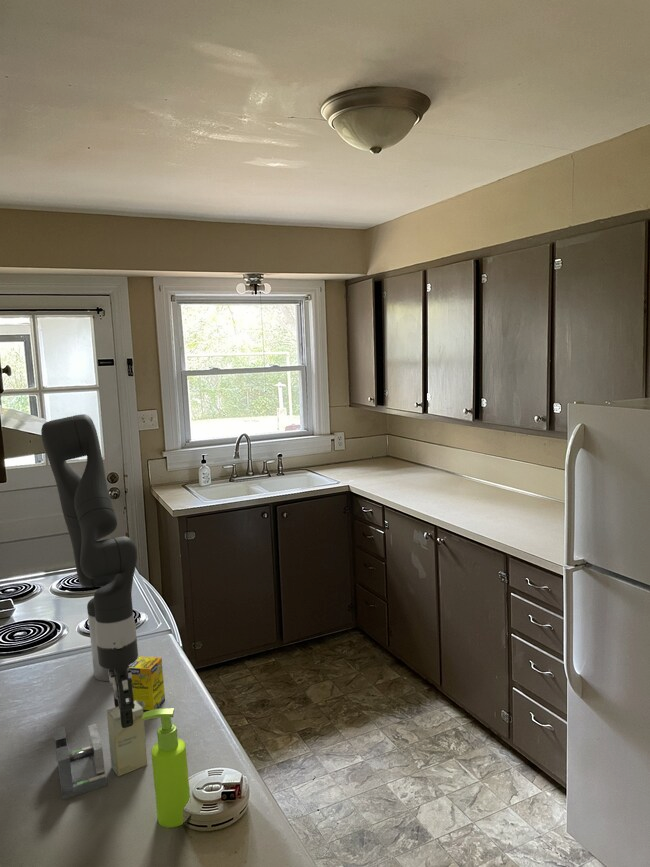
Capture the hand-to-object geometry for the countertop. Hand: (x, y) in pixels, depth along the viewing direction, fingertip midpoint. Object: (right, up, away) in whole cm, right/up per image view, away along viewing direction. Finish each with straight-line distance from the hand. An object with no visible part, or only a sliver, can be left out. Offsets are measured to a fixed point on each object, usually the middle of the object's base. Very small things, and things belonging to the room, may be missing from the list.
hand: (123, 715), depth 128 cm
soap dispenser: (+13, -12, -14) cm, 22 cm away
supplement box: (-2, -8, +24) cm, 25 cm away
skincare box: (+1, -11, +2) cm, 11 cm away
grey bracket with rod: (-8, -11, -1) cm, 14 cm away
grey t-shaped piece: (-8, -10, -1) cm, 13 cm away
